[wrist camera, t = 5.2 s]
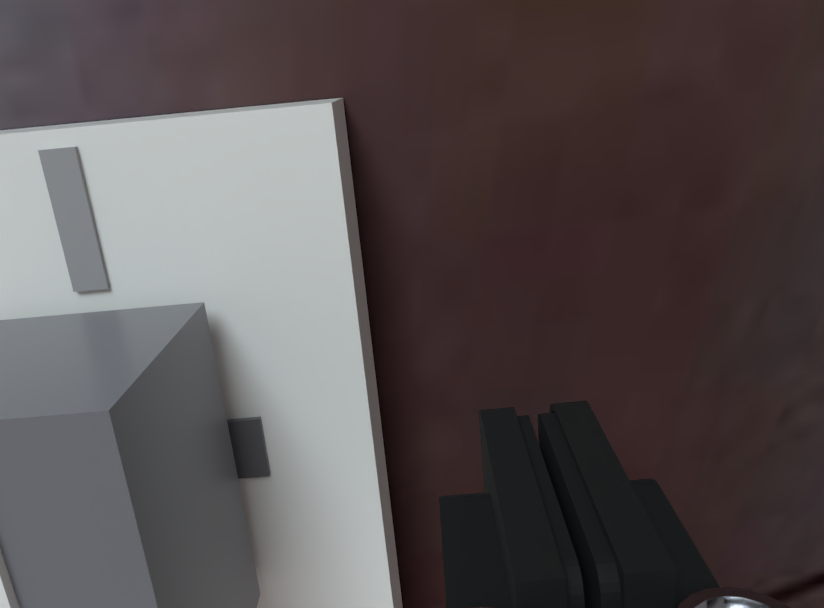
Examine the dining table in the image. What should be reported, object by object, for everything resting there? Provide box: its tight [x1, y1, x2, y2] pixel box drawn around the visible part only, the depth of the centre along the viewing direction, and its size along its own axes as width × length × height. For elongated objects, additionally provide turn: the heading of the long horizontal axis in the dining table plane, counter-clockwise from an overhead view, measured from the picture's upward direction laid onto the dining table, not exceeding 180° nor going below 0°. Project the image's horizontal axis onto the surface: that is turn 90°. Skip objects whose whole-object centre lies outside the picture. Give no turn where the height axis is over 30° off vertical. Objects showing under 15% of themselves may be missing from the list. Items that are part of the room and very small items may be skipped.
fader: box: [0, 302, 260, 608], centre depth 11 cm, size 4×6×4 cm, turn 5°
